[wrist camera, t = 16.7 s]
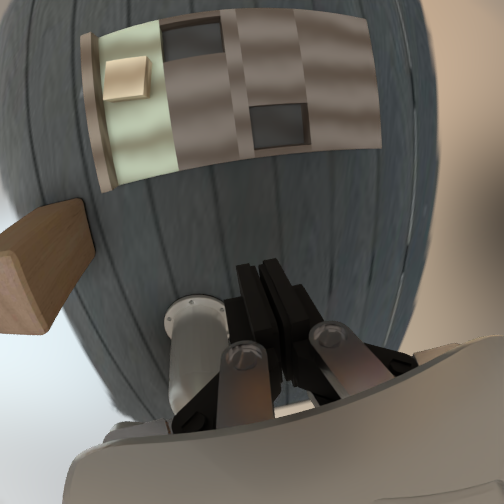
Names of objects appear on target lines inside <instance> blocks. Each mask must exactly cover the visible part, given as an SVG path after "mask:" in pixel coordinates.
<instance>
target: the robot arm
mask: <svg viewBox="0 0 504 504" xmlns="http://www.w3.org/2000/svg"><path fill="white" fill-rule="evenodd" d="M236 270H237V276H238V281H239V287H240V293H241V297H236V298H231V299H226V300H224V303H223V302H222V301H220V300H218V299H216V298H214V297H211V296H206V295H190V296H186V297H183V298H181V299H179V300H177V301H175V302H174V303H173V304H172V305H171V306H170V307H169V308H168V310H167V312H166V314H165V319H164V326H165V330H166V333H167V335H168V336H169V337H170V338H171V353H170V371H169V402H170V406H171V408H172V411H173V412H174V414H175V416H174V418H173V419H169V420H165V418H162V419H159V420H155V421H151V422H147V423H141V422H130V421H129V422H127V421H125V422H120V423H117V424H115V425H114V426H113V427H112V429H111V430H110V432H109V433H108V434H107V435H106V436H105V439H104V441H103V443H102V444H99V445H97V446H94V447H91V448H89V449H87V450H85V451H83V452H82V453H80V454H79V455H78V456H77V457H76V458H75V459H74V460H73V462H72V464H71V466H70V468H69V471H68V473H67V477H66V482H65V486H64V493H63V501H62V504H504V336H503V335H490V336H483V337H479V338H476V339H473V340H470V341H468V342H465V343H463V344H457V343H452V344H448V345H444V346H440V347H436V348H432V349H429V350H424V351H421V352H416V353H414V354H413V356H410V355H407V354H405V353H401V352H397V351H393V350H389V349H385V348H382V347H378V346H374V345H370V344H367V343H363V342H362V341H361V340H360V339H359V338H358V337H357V336H356V335H355V334H354V333H353V331H352V330H351V329H350V328H349V327H347V326H346V325H345V324H343V323H340V322H337V321H324V320H323V318H322V317H321V315H320V313H319V312H318V310H317V308H316V307H315V305H314V303H313V302H312V300H311V298H310V297H309V295H308V293H307V292H306V290H305V288H304V287H303V285H302V284H299V285H294V286H291V284H290V282H289V280H288V278H287V276H286V275H285V273H284V271H283V269H282V267H281V266H280V264H279V262H278V260H277V259H276V258H273V259H268V260H263V264H261V265H259V275H260V278H259V275H258V273H257V270H256V267H255V266H250V264H249V263H248V264H242V265H237V266H236ZM229 337H230V342H231V345H229V344H228V338H229ZM282 370H283V373H284V376H285V379H286V381H290V380H291V381H292V384H293V386H294V387H297V386H298V387H299V388H302V389H305V390H307V394H308V397H309V398H310V400H311V401H312V403H313V405H314V406H315V408H313V409H309V410H306V411H302V412H299V413H295V414H291V415H287V416H283V417H279V418H275V413H274V403H273V402H274V401H275V399H276V398H277V397H278V395H279V394H280V392H281V383H282V382H283V380H282Z"/></svg>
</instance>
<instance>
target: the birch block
mask: <svg viewBox="0 0 504 504" xmlns="http://www.w3.org/2000/svg"><path fill="white" fill-rule="evenodd" d="M151 73H152V62H151V61H150V59H149V58H148V57H147V56H139V57H131V58H124V59H118V60H112V61H106V68H105V78H104V91H103V100H105V101H109V102H113V103H114V102H122V101H130V100H140V99H150V86H151Z"/></svg>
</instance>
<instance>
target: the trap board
mask: <svg viewBox="0 0 504 504" xmlns="http://www.w3.org/2000/svg"><path fill="white" fill-rule="evenodd" d="M80 44H81V69H82V82H83V93H84V102H85V110H86V117H87V124H88V130H89V136H90V142H91V147H92V153H93V158H94V162H95V167H96V172H97V176H98V180H99V184H100V189H101V192H102V193H104V192H108V191H111V190H113V189H114V188H116V187H117V186H118V185H122V184H125V183H129V182H133V181H137V180H141V179H145V178H149V177H153V176H158V175H162V174H167V173H171V172H176V171H181V170H186V169H191V168H196V167H201V166H207V165H212V164H218V163H224V162H230V161H237V160H243V159H250V158H258V157H265V156H273V155H282V154H292V153H302V152H314V151H328V150H345V149H373V148H382V144H381V123H380V109H379V98H378V88H377V80H376V72H375V65H374V59H373V52H372V47H371V41H370V36H369V31H368V26H367V22H366V19H362V18H357V17H352V16H347V15H341V14H335V13H328V12H321V11H312V10H301V9H285V8H242V9H226V10H215V11H206V12H198V13H192V14H185V15H180V16H174V17H169V18H164V19H160V20H156V21H151V22H147V23H144V24H140V25H136V26H133V27H129V28H126V29H123V30H120V31H117V32H114V33H111V34H108V35H105V36H102V37H100V38H98V37H97V36H95V35H94V34H93V33H91V32H89V33H87V34H85V35H82V36H80ZM139 56H147V57H148V58H149V59H150V61H151V62H152V73H151V86H150V99H140V100H130V101H122V102H114V103H113V102H109V101H105V100H103V91H104V78H105V68H106V61H112V60H118V59H124V58H131V57H139Z"/></svg>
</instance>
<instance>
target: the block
mask: <svg viewBox="0 0 504 504" xmlns="http://www.w3.org/2000/svg"><path fill="white" fill-rule="evenodd" d="M94 257H95V249H94V245H93V242H92V238H91V234H90V230H89V226H88V222H87V217H86V213H85V208H84V204H83V201H82V199H77V198H75V199H71V200H67V201H62V202H58V203H54V204H50V205H46V206H42V207H38V208H37V209H35V210H33V211H32V212H30V213H29V214H27V215H26V216H24V217H23V218H21V219H20V220H19V221H17V222H16V223H14V224H13V225H12V226H10V227H9V228H7V229H6V230H5V231H3V232H2V233H1V234H0V333H2V334H20V335H43V334H45V333H47V332H48V331H49V329H50V327H51V326H52V324H53V322H54V320H55V318H56V317H57V315H58V313H59V311H60V310H61V308H62V306H63V305H64V303H65V301H66V300H67V298H68V296H69V295H70V293H71V291H72V290H73V288H74V287H75V285H76V283H77V282H78V280H79V279H80V277H81V276H82V274H83V273H84V271H85V270H86V268H87V267H88V265H89V264H90V262H91V261H92V259H93V258H94Z"/></svg>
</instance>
